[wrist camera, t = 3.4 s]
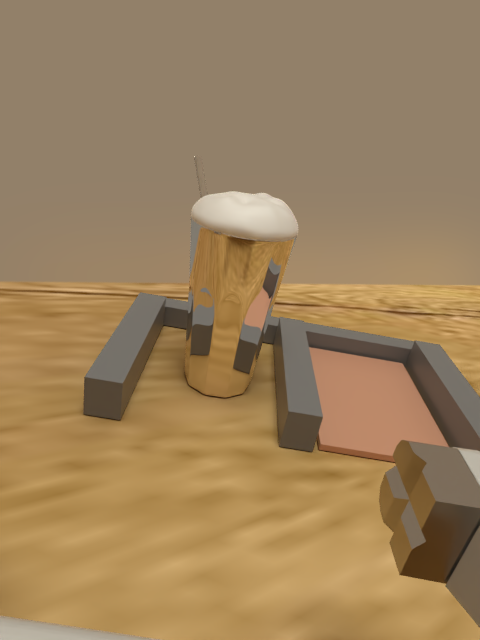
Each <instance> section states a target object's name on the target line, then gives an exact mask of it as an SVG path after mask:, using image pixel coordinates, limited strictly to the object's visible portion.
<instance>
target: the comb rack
mask: <svg viewBox="0 0 480 640" xmlns="http://www.w3.org/2000/svg"><path fill="white" fill-rule="evenodd" d="M187 315H188V302H185V301H180V300H174V299H168V298H166V297H163V296H158V295H152V294H146V293H139V295H138V297H137V298H136V300H135V301H134V303H133V304H132V306H131V307H130V309H129V310H128V312H127V313H126V315H125V316H124V318H123V319H122V321H121V322H120V324H119V325H118V327H117V328H116V330H115V331H114V333H113V335H112V336H111V338H110V339H109V341H108V342H107V344H106V345H105V347H104V348H103V350H102V351H101V353H100V354H99V356H98V357H97V359H96V360H95V362H94V363H93V365H92V366H91V368H90V370H89V371H88V373H87V374H86V376H85V380H84V412H83V414H86V415H92V416H98V417H104V418H110V419H116V420H120V419H121V417H122V415H123V413H124V411H125V408H126V406H127V404H128V402H129V399H130V397H131V395H132V393H133V391H134V388H135V386H136V384H137V382H138V380H139V377H140V375H141V373H142V371H143V368H144V366H145V364H146V362H147V360H148V357H149V355H150V353H151V351H152V349H153V346H154V344H155V342H156V340H157V337H158V335H159V333H160V331H161V329H162V326H163V325H166V326H172V327H178V328H184V329H187ZM263 342H265V343H270V344H274V362H275V381H276V399H277V417H278V435H279V446H280V447H286V448H292V449H298V450H304V451H310V452H312V451H313V448H314V445H315V442H316V438H317V442H318V447H319V450H324V451H330V452H336V453H342V454H348V455H354V456H360V457H366V458H372V459H378V460H384V461H390V462H395V461H394V458H393V456H392V455H393V453H394V451H395V448H396V446H397V445H398V443H399V442H400V441H401V440H407V441H413V442H420V443H426V444H432V445H438V446H444V447H451V448H452V447H456V448H463V449H471V450H478V451H479V452H480V397H479V396H478V395H477V393H476V392H475V391H474V389H473V388H472V387H471V385H470V384H469V383H468V381H467V380H466V379H465V377H464V376H463V375H462V373H461V372H460V371H459V370H458V368H457V367H456V366H455V364H454V363H453V362H452V360H451V359H450V358H449V356H448V355H447V354H446V352H445V351H444V350H443V349H442V347H441V346H440V345H438V344H432V343H426V342H421V341H409V340H403V339H397V338H391V337H386V336H380V335H374V334H368V333H363V332H357V331H351V330H346V329H340V328H334V327H328V326H323V325H317V324H311V323H306V322H304V321H301V320H295V319H289V318H283V317H280V318H277V317H271V316H270V319H269V323H268V326H267V329H266V332H265V336H264V339H263ZM405 368H406V369H405ZM406 370H407V371H406ZM408 373H409V374H408ZM409 375H410V376H409ZM410 377H411V378H410ZM411 379H412V380H411ZM413 382H414V383H413ZM414 384H415V385H414ZM415 386H416V387H415ZM416 388H417V389H418V390H417V389H416ZM418 391H419V392H418ZM419 393H420V394H419ZM420 395H421V396H420ZM422 398H423V399H422ZM423 400H424V401H423ZM424 402H425V403H424ZM425 404H426V405H425ZM427 407H428V408H427ZM428 409H429V410H428ZM429 411H430V412H429ZM430 413H431V414H432V415H431V414H430ZM432 416H433V417H432ZM433 418H434V419H433ZM434 420H435V421H434ZM435 422H436V423H437V424H436V423H435ZM437 425H438V426H437ZM438 427H439V428H438ZM439 429H440V430H439ZM441 432H442V433H441ZM442 434H443V435H442ZM443 436H444V437H443ZM444 438H445V439H446V440H445V439H444ZM446 441H447V442H446ZM447 443H448V444H447ZM448 445H449V446H448Z"/></svg>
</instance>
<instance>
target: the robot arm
mask: <svg viewBox="0 0 480 640" xmlns="http://www.w3.org/2000/svg"><path fill="white" fill-rule="evenodd" d="M392 456H393V458H394V461H395V464H396V466H395V467H393V468H392V469H390V470H389V471H387V472H386V473H385V475H384V478H383V481H382V483H381V487H380V497H379V503H380V512H381V515H382V519H383V522H384V523H385V524H386V525H387V526H388V527H389V528H390V529H391V530H392V531H393V532H394V533H393V536H392V538H391V540H390V545H391V549H392V552H393V555H394V558H395V562H396V565H397V568H398V571H399V575H402V576H408V577H413V578H418V579H424V580H429V581H434V582H440V583H445V584H446V587H447V588H448V590H449V591H450V592H451V593H452V595H453V596H454V597H455V598H456V599H457V601H458V602H459V603H460V604H461V605H462V607H463V608H464V609H465V610H466V612H467V613H468V614H469V615H470V616H471V618H472V619H473V620H474V621H475V622H476V624H477V625H478V626H479V627H480V452H479V451H478V450H471V449H463V448H456V447H452V448H451V447H444V446H438V445H432V444H426V443H420V442H413V441H407V440H401V441H400V442H399V443H398V445H397V446H396V448H395V451H394V453H393V455H392ZM0 640H160V639H153V638H146V637H140V636H133V635H126V634H120V633H113V632H106V631H100V630H93V629H86V628H80V627H73V626H66V625H60V624H53V623H46V622H40V621H33V620H26V619H20V618H13V617H7V616H0Z"/></svg>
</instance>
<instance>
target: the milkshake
mask: <svg viewBox="0 0 480 640" xmlns="http://www.w3.org/2000/svg"><path fill="white" fill-rule="evenodd" d="M194 160H195V166H196V171H197V178H198V183H199V189H200V195H201V199H199V200H198V201H197V202H196V203H195V204H194V206H193V208H192V211H191V215H192V216H191V246H190V250H191V251H190V281H189V298H188V315H187V333H186V351H185V375H186V378H187V381H188V385H190V386H191V387H193V388H195V389H196V390H198V391H199V392H201V393H203V394H204V395H211V396H217V397H223V398H227V397H231V396H235V395H238V394H242V393H244V391H245V390H246V388H247V387H248V385H249V384H250V381H251V379H252V375H253V372H254V369H255V365H256V362H257V359H258V356H259V352H260V349H261V346H262V342H263V339H264V336H265V332H266V329H267V326H268V323H269V319H270V316H271V313H272V309H273V306H274V303H275V299H276V296H277V293H278V290H279V287H280V284H281V281H282V279H283V276H284V273H285V270H286V267H287V264H288V261H289V258H290V255H291V252H292V249H293V246H294V243H295V240H296V237H297V234H298V224H297V221H296V218H295V217H294V215H293V213H292V211H291V209H290V208H289V207H288V206H287V205H286V204H285V203H284V202H283V201H282V200H280V199H278V198H273V197H272V196H270V195H268V194H266V193H258V194H248V193H242V192H234V191H232V192H225V193H218V194H211V195H208V194H207V188H206V182H205V176H204V170H203V164H202V158H201V156H194Z"/></svg>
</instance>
